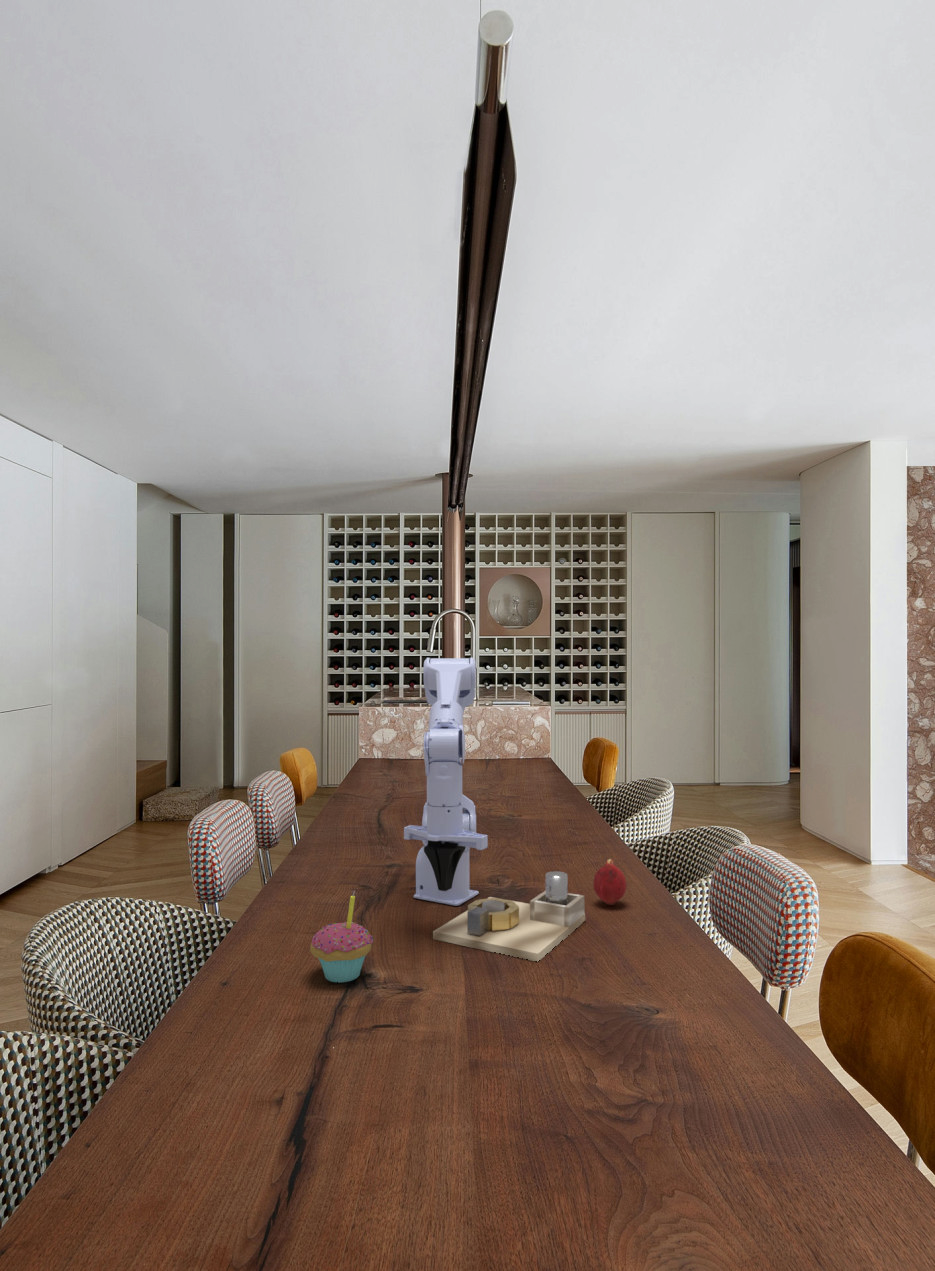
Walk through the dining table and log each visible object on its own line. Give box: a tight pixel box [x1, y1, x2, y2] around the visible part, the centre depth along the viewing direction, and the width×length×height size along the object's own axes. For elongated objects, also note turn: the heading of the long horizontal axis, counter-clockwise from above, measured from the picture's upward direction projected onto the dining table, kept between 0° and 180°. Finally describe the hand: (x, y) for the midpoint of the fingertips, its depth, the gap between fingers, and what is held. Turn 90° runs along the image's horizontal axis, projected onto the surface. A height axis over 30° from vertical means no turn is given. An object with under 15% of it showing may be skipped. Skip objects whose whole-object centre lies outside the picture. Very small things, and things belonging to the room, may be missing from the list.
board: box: [432, 889, 586, 963], centre depth 124 cm, size 18×19×4 cm
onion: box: [592, 858, 627, 906], centre depth 135 cm, size 6×6×8 cm
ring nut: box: [467, 897, 519, 936], centre depth 123 cm, size 8×10×3 cm
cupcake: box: [309, 890, 374, 984], centre depth 107 cm, size 9×8×12 cm
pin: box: [545, 870, 569, 906], centre depth 126 cm, size 4×4×7 cm
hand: (445, 889), depth 122 cm, fingers closed
